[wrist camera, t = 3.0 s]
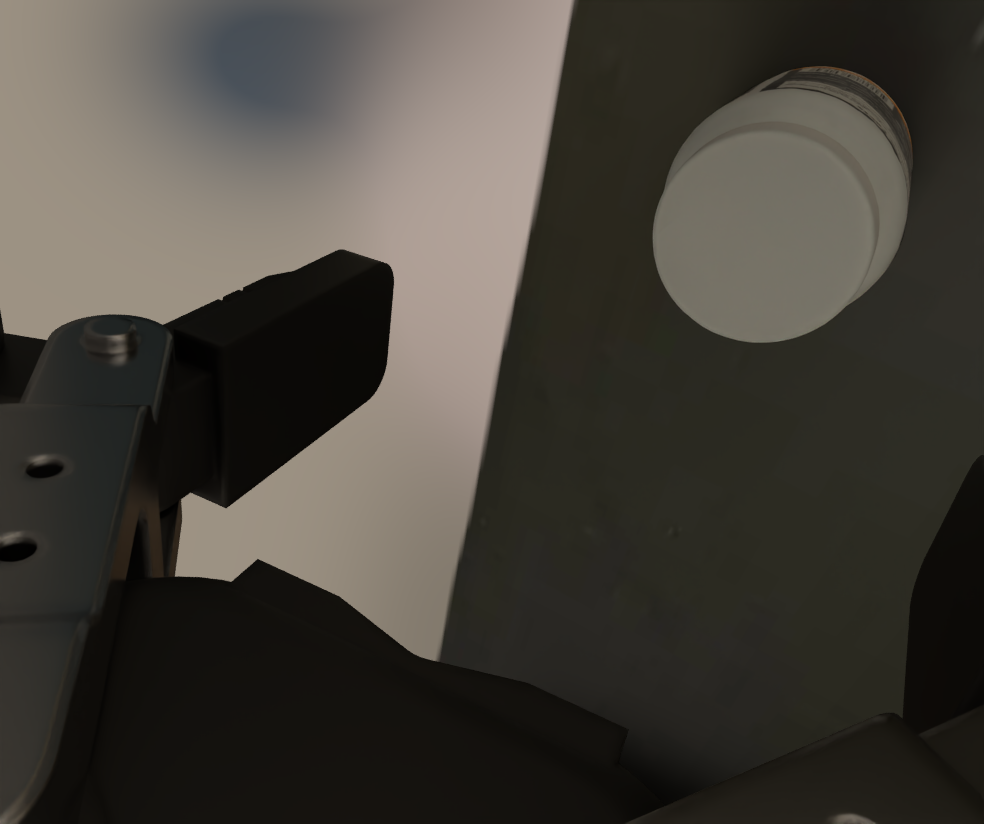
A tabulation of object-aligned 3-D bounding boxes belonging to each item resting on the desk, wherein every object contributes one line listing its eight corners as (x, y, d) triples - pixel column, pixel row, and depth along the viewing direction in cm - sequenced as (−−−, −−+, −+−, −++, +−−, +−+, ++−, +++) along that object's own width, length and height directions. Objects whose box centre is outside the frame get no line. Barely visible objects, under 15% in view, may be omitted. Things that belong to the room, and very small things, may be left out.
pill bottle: (764, 281, 29) (696, 402, 21) (686, 122, 28) (583, 186, 20) (946, 203, 26) (947, 310, 18) (866, 21, 25) (829, 48, 17)
